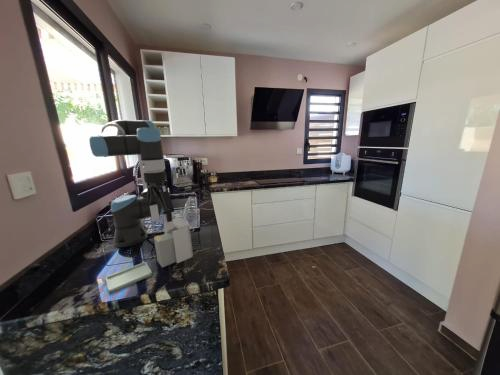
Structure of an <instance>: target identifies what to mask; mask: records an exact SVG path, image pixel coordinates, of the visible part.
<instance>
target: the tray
mask: <svg viewBox="0 0 500 375" xmlns="http://www.w3.org/2000/svg"><path fill="white" fill-rule="evenodd" d="M151 276H153V271H152V270H151V268H150V267H149V265H148V263H147V262H146V261H143V262H140V263H138V264H136V265H133V266H130V267H128V268H126V269H122V270H120V271H117V272H115V273H112V274H110V275H107V276H105V277H104V278H105V281H106V286H107V290H108V294H112V293H115V292H116V291H119V290H121V289H124V288H125V287H128V286H130V285H133V284H135V283H137V282H140V281H142V280H144V279H148V278H149V277H151Z"/></svg>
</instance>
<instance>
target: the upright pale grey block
mask: <svg viewBox="0 0 500 375" xmlns="http://www.w3.org/2000/svg"><path fill="white" fill-rule="evenodd" d="M153 240H154V241H153V242H154V246H155V247H154V249H155V254H156V259H157V260H156V261H157V263H158V265H160V267H161V268H165V267H167V266H170V265H172V264H174V263H177V262H176V255H175V248H174V241H173V233H172V232H169V233H166V234H165V233H163V234H161V235H156V236H154V237H153Z"/></svg>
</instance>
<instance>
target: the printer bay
mask: <svg viewBox="0 0 500 375" xmlns="http://www.w3.org/2000/svg"><path fill="white" fill-rule="evenodd" d="M173 226H174V228H173V229H170V230H166V228H165V223H163V230H164V234H166V233H169V232H172V233H173V241H174V248H175V255H176V262H175V263H176V264H179V263H181V262H184V261H187V260H189V259H191V258H193V257H194V251H193V250H194V249H193V242H192V236H191V228H190V226H191V225H190V223H188V222H186V221H185V220H184V219H181V218H180V217H176V218H173Z"/></svg>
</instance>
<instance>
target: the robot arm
mask: <svg viewBox="0 0 500 375" xmlns="http://www.w3.org/2000/svg"><path fill="white" fill-rule="evenodd" d="M88 141H89V146H90V151H91V153H92V155H93V156H94V157H97V158H98V157H99V158H100V157H101V158H103V157H104V158H107V157H120V156H137V158H138V165H139V170H140V176H141V181H142V183H141V184H142V189H143V191H142V192H141V193H140V195H141V196H139V197H138V196H137V195H136V194H129V195H124V196H122V197H117V198H116V199H114V200H112V201H111V202H110V212H111V215H112V218H113V219H112V221H113V225H114V229H115V231H114V237H113V245H114V247H115V248H116V247H117V248H127V247H132V246H135V245H138V244H141V243H143V242H145V240H147V238H148V232H147V230H146V229H145V228H144V227H145V226H144V225H143V224H142V220H143V219H150V218H151V221H152V222H156V221H157V220H160V216H163V219H164V220H163V222H164V224H165V228H166V230H170V229H173V228H174V226H173V219H174V218H173V213H174V212H175V208H174V205H173V202H172V199H171V195H170V192H169V188H168V185H164V183H163V182H166V181H167V179H168V178H167V173H166V171H165V170H166V164H165V163H166V162H165V158H164V153H163V152H164V151H163V145H162V135H161V130H160V129H159V128H158V127H157V128H156V126H155V123H154V122H153V121H151V120H145V119H140V120H138V119H117V120H113V121H109V122H107V123H106V124H104V125H103V126H102V129H101V135H100V134H97V135H91V136H90V137H89V140H88Z"/></svg>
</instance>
